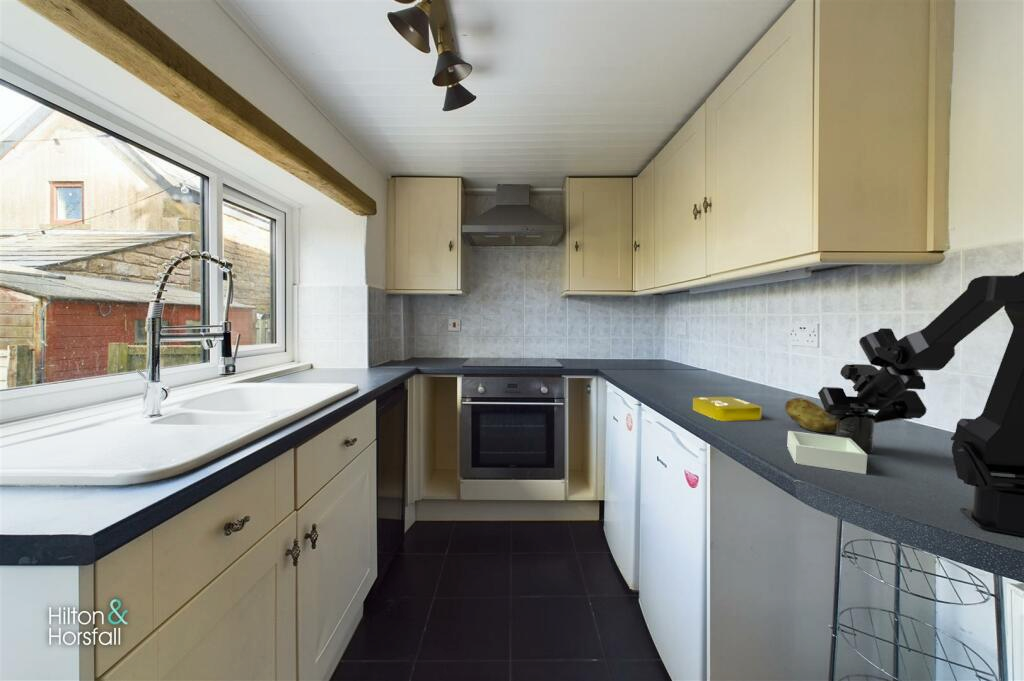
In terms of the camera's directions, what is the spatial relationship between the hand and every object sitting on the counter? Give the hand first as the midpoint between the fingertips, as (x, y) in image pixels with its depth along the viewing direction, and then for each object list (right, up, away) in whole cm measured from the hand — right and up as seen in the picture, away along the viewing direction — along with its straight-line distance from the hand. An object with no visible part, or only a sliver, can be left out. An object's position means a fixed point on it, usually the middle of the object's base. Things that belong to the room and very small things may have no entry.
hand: (851, 420), depth 96 cm
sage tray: (-13, -7, -8) cm, 17 cm away
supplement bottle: (0, -7, -1) cm, 7 cm away
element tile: (-14, -5, +31) cm, 34 cm away
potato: (+1, -6, +15) cm, 16 cm away
